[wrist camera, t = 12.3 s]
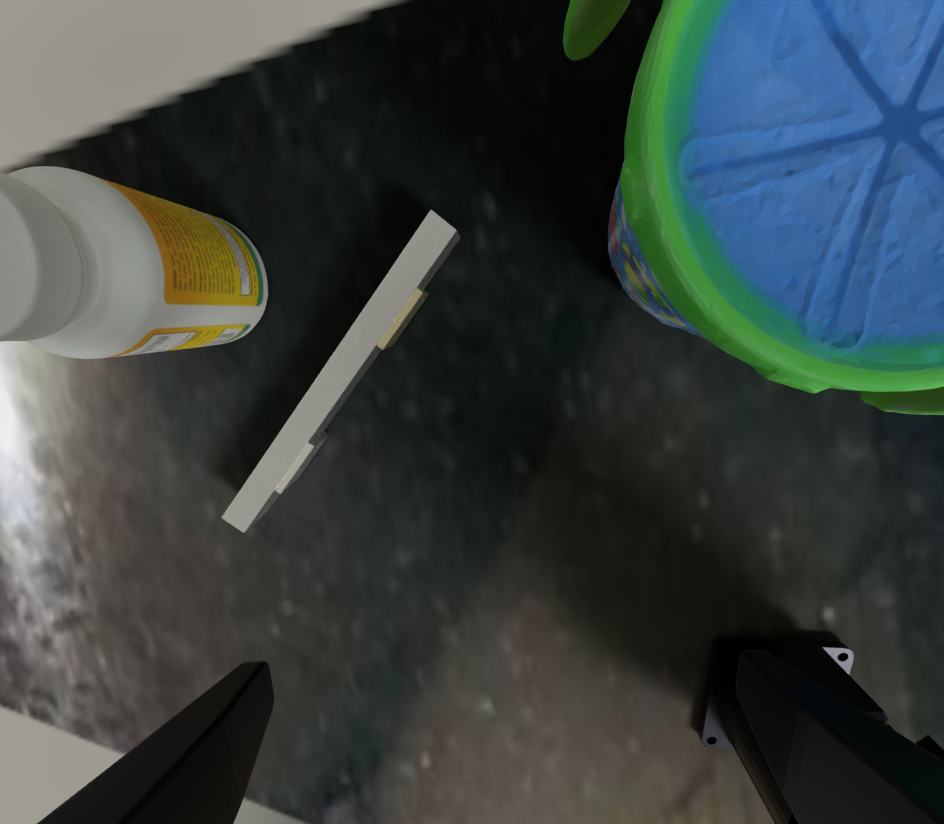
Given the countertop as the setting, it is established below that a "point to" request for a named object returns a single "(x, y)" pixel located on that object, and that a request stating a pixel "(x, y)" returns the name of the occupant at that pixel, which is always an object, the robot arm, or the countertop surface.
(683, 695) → the countertop surface
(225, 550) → the countertop surface
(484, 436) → the countertop surface
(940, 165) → the snack cup
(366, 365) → the price rail
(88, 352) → the supplement bottle
